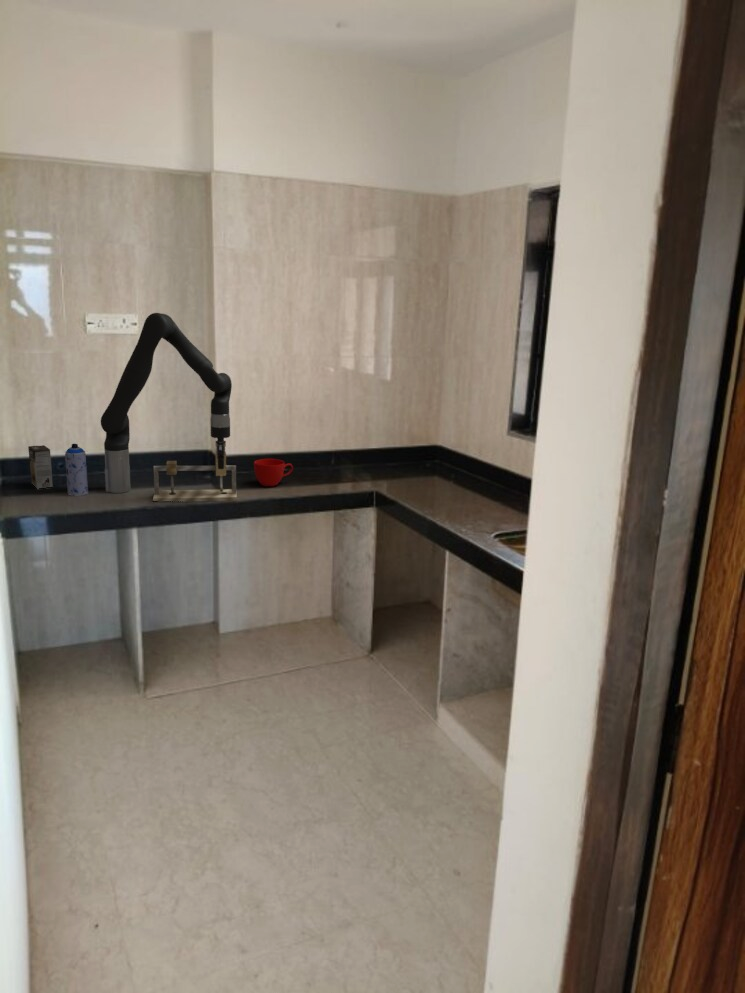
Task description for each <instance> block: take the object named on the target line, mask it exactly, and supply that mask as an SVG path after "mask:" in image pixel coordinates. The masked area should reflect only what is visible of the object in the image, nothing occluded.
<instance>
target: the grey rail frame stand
mask: <svg viewBox="0 0 745 993" xmlns="http://www.w3.org/2000/svg"><path fill="white" fill-rule="evenodd" d="M177 462H178V461H177V460H167V461H166V465H153V485H154V487H153V488H154V494H153V498H152V502H153V501H171V503H175V502H176V503H179V502H180V501H181V503H184V502H191V503H193V502H237V501H238V495H237V494H238V492H237V465H229V464H228V465H227V464H226V471H231V488H229V489H228V488H227V489H224V488H223V492H220V489H174V488H175V486H174V485H175V484H174V476H177V473H178V471H179V472H180V471H183V472H184V471H185V472H187V471H188V472H189V471H191V472H193V471H194V472H195V471H198V472H199V471H200V472H201V471H216V465H178V464H177ZM163 471H164V472H166V476H168V475H169V476H170V489H162V490H161V489H160V485H159V484H160V483H159V482H160V480H159V478H160V477H159V472H163ZM172 501H173V502H172ZM177 501H179V502H177ZM182 501H183V502H182Z"/></svg>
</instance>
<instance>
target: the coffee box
mask: <svg viewBox="0 0 745 993" xmlns="http://www.w3.org/2000/svg"><path fill="white" fill-rule="evenodd" d="M51 456H52V454H51V449H50V448H48V447H47V446H46V445H29V446H28V458H29V469H30V478H31V480H30V481H31V485H32V484H33V485H34V486H35V487H36V488H37V489H36V488H35V487H34V486H33V485H32V486H33V487H34V488H35V489H36V490H40V489H39V488H46V487H53V488H54V486H53V483H54V482H53V474H52V472H53V471H52V457H51ZM46 489H47V488H46Z"/></svg>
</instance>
